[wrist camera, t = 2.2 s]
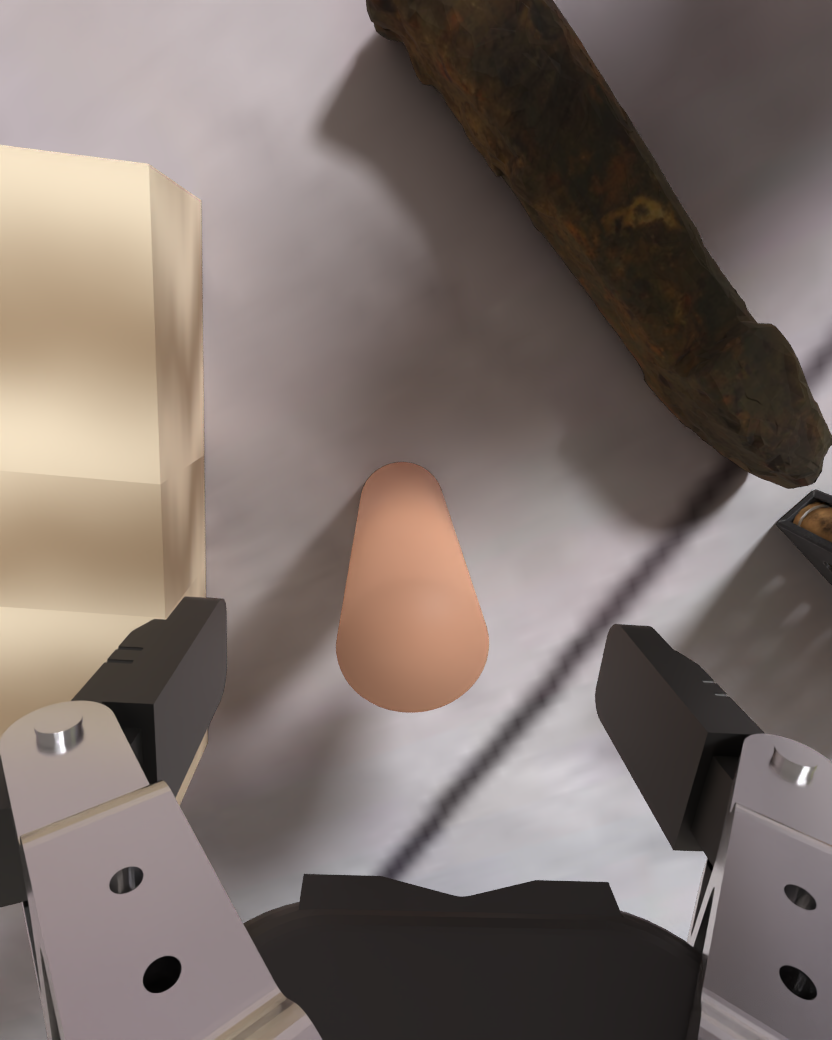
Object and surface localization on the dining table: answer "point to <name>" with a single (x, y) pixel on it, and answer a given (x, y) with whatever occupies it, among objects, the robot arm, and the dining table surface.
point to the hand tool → (614, 223)
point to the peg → (409, 598)
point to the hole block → (95, 416)
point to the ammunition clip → (812, 530)
